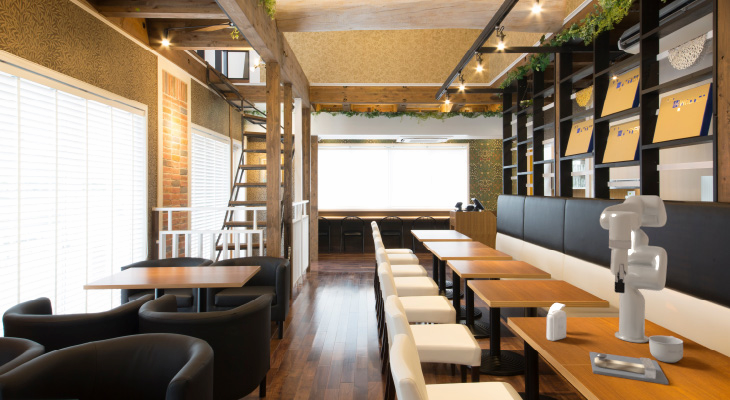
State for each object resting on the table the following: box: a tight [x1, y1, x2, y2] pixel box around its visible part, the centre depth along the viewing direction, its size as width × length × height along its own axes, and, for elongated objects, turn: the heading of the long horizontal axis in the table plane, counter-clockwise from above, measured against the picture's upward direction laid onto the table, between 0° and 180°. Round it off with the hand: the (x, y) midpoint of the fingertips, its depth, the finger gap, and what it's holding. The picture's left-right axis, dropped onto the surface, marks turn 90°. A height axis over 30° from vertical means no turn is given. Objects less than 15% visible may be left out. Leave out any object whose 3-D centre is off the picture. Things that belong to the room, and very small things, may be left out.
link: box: [595, 352, 644, 374], centre depth 154 cm, size 18×4×4 cm, turn 62°
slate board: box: [589, 351, 669, 386], centre depth 158 cm, size 20×22×1 cm
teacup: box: [648, 335, 684, 363], centre depth 167 cm, size 14×11×8 cm
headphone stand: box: [548, 302, 566, 313], centre depth 201 cm, size 5×6×12 cm
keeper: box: [639, 357, 656, 379], centre depth 151 cm, size 10×3×5 cm, turn 156°
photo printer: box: [545, 309, 567, 342], centre depth 190 cm, size 10×4×12 cm, turn 123°
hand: (619, 292), depth 168 cm, fingers closed
